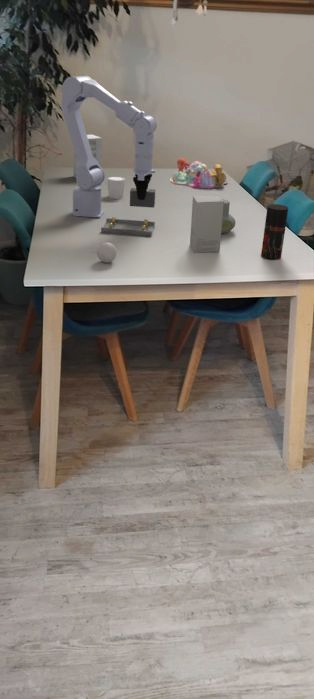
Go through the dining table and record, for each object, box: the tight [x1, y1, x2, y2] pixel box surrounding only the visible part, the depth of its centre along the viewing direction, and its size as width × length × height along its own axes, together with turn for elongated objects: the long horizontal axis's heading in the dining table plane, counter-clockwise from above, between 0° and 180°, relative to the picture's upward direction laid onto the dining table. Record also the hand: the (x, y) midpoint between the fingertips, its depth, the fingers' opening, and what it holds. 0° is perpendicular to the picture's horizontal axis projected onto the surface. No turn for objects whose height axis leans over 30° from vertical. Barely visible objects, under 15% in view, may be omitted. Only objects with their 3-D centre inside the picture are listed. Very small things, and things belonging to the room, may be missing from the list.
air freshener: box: [221, 198, 236, 235], centre depth 210 cm, size 11×8×10 cm
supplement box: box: [72, 134, 103, 179], centre depth 266 cm, size 10×9×17 cm
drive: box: [129, 187, 156, 209], centre depth 213 cm, size 8×4×5 cm, turn 86°
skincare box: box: [189, 195, 224, 253], centre depth 191 cm, size 8×7×16 cm
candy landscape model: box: [168, 157, 228, 190], centre depth 272 cm, size 25×24×9 cm
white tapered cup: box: [106, 176, 126, 200], centre depth 243 cm, size 7×7×7 cm
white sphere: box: [92, 241, 118, 264], centre depth 179 cm, size 8×6×6 cm
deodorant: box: [260, 203, 289, 261], centre depth 189 cm, size 6×6×15 cm
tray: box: [100, 216, 156, 237], centre depth 208 cm, size 16×11×3 cm
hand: (141, 197), depth 213 cm, fingers closed on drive, 4 cm apart
